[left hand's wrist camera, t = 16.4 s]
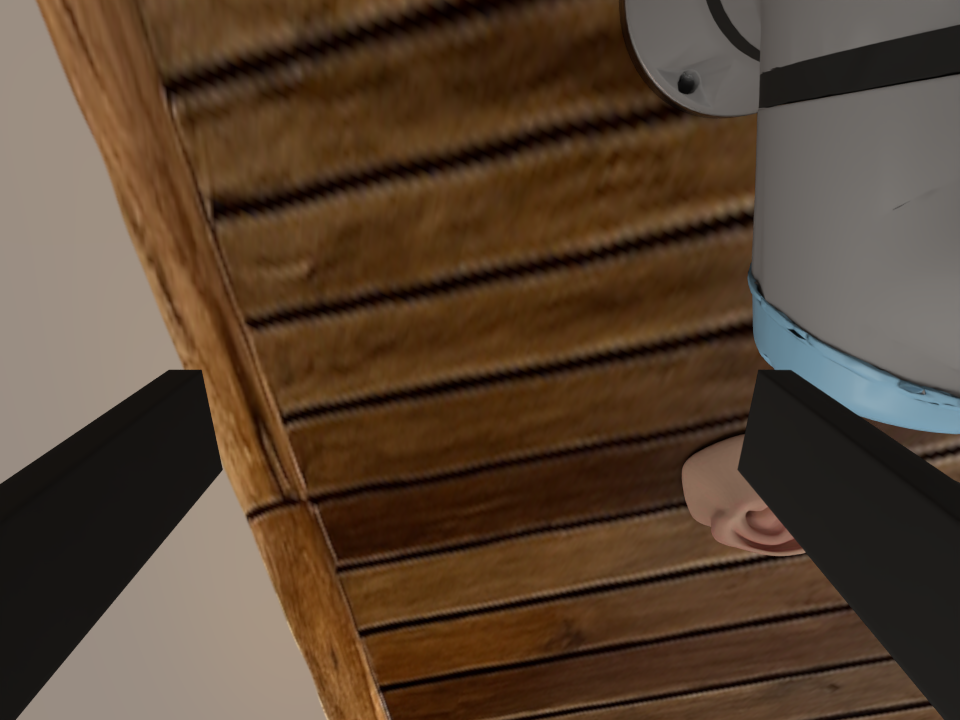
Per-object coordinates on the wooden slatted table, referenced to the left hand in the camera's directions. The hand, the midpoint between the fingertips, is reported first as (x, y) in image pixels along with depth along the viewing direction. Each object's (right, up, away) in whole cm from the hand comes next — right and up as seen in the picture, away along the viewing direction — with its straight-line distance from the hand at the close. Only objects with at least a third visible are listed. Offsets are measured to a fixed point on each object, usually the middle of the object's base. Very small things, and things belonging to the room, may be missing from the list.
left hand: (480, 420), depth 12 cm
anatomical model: (+25, -10, +35) cm, 44 cm away
